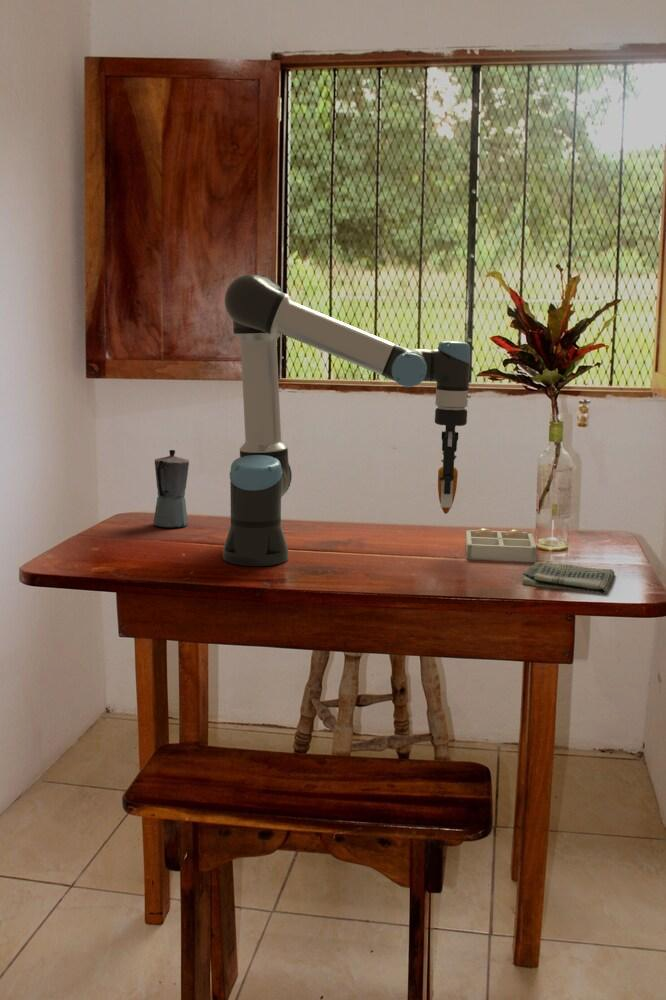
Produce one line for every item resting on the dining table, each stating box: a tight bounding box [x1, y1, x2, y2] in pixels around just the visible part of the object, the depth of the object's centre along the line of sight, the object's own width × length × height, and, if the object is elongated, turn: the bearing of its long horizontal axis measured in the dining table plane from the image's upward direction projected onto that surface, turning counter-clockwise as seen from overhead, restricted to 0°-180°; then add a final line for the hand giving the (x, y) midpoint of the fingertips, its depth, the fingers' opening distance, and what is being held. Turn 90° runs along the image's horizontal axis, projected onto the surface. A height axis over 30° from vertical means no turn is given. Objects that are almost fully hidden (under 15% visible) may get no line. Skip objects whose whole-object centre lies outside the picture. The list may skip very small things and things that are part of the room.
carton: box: [465, 529, 537, 563], centre depth 255 cm, size 16×16×4 cm
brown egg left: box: [475, 527, 493, 538], centre depth 259 cm, size 5×5×5 cm
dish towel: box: [521, 560, 615, 596], centre depth 232 cm, size 19×18×3 cm
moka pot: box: [153, 449, 190, 528], centre depth 275 cm, size 10×15×20 cm, turn 170°
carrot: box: [437, 451, 459, 515], centre depth 251 cm, size 5×5×15 cm
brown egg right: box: [505, 528, 524, 539], centre depth 258 cm, size 5×5×5 cm
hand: (446, 504), depth 252 cm, fingers closed on carrot, 5 cm apart
